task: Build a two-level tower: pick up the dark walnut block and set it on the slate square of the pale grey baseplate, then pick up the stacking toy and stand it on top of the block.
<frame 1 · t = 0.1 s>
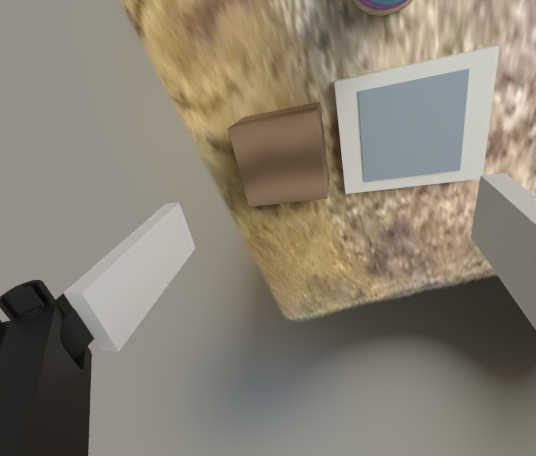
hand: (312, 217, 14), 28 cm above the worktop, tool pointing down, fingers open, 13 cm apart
walnut block: (287, 147, 41), on the worktop
baseplate: (407, 128, 36), on the worktop
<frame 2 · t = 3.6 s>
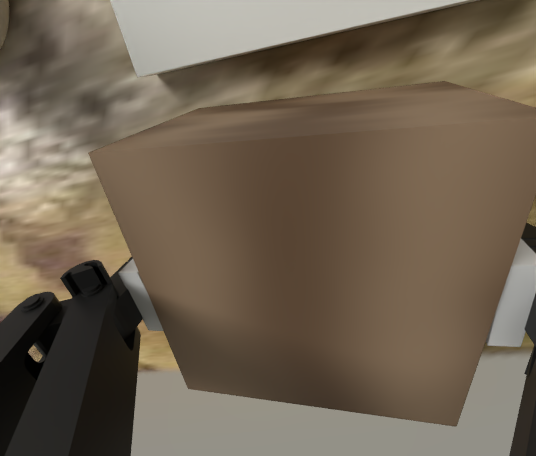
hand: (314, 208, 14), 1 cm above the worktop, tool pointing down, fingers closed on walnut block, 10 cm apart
walnut block: (315, 205, 15), point 1 cm above the worktop, touching gripper
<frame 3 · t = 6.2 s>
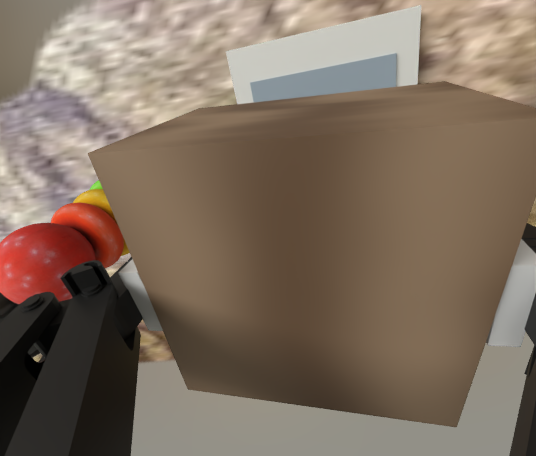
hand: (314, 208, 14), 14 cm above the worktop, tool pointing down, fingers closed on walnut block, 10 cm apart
walnut block: (315, 205, 15), point 14 cm above the worktop, touching gripper
stacking toy: (177, 175, 32), on the worktop
baseplate: (325, 136, 26), on the worktop
when the fingers open (3 cm above the worktop, at t = 8.7 s): walnut block stays where it is, resting on baseplate.
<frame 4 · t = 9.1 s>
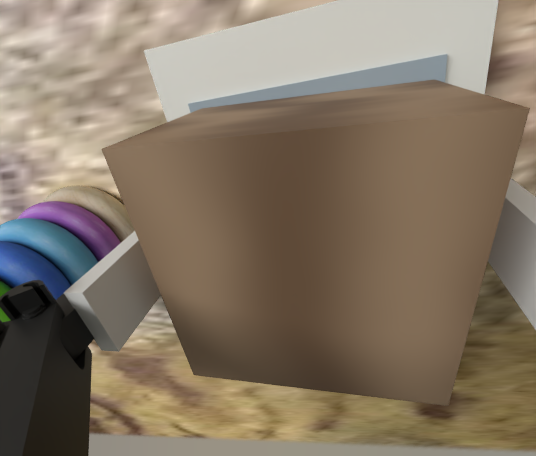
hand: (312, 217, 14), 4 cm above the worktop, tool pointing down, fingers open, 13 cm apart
walnut block: (313, 200, 15), point 2 cm above the worktop, touching baseplate
stacking toy: (105, 230, 22), on the worktop
baseplate: (318, 186, 17), on the worktop
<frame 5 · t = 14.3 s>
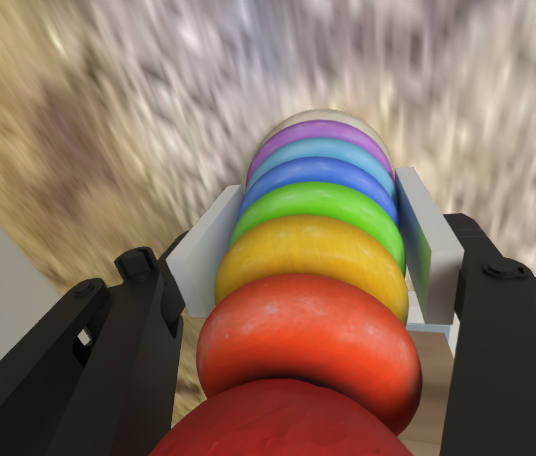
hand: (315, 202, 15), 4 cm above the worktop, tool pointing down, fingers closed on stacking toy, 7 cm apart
walnut block: (364, 372, 23), point 2 cm above the worktop, touching baseplate
stacking toy: (320, 175, 18), on the worktop, touching gripper
baseplate: (363, 354, 25), on the worktop
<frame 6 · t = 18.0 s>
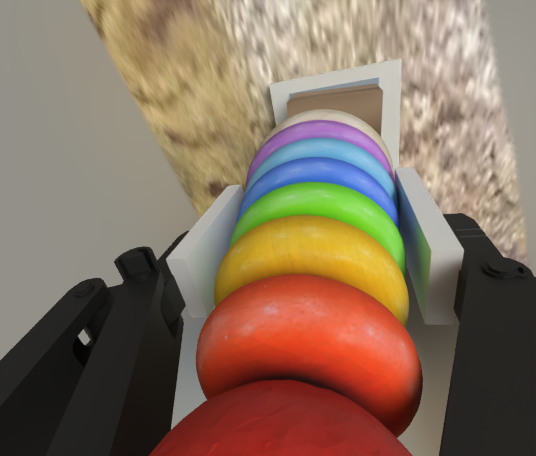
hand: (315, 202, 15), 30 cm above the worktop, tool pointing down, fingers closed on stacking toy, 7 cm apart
walnut block: (335, 129, 40), point 2 cm above the worktop, touching baseplate
stacking toy: (320, 175, 18), point 26 cm above the worktop, touching gripper
baseplate: (335, 127, 41), on the worktop
when the fingers open (14 cm above the worktop, at t = 21.6 s): stacking toy drops 2 cm, resting on walnut block.
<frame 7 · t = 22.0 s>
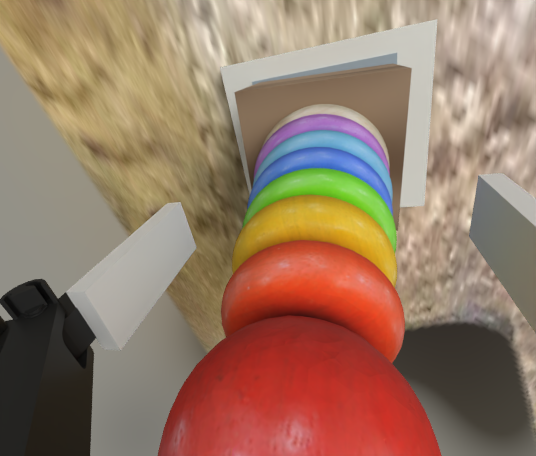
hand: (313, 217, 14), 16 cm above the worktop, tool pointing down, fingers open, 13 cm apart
walnut block: (325, 138, 25), point 2 cm above the worktop, touching baseplate, stacking toy
stacking toy: (322, 165, 19), point 9 cm above the worktop, touching walnut block
baseplate: (327, 135, 27), on the worktop
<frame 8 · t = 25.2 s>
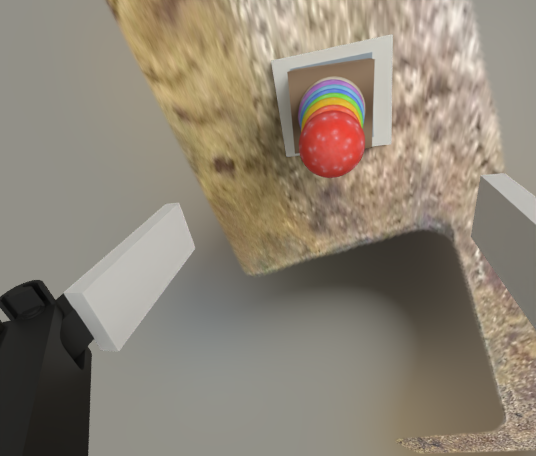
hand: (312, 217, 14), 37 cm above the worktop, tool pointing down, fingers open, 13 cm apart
walnut block: (332, 102, 43), point 2 cm above the worktop, touching baseplate, stacking toy
stacking toy: (331, 111, 37), point 8 cm above the worktop, touching walnut block
baseplate: (333, 101, 44), on the worktop
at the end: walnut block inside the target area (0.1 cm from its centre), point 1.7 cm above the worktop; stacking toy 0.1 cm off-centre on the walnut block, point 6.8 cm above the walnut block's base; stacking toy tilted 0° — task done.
